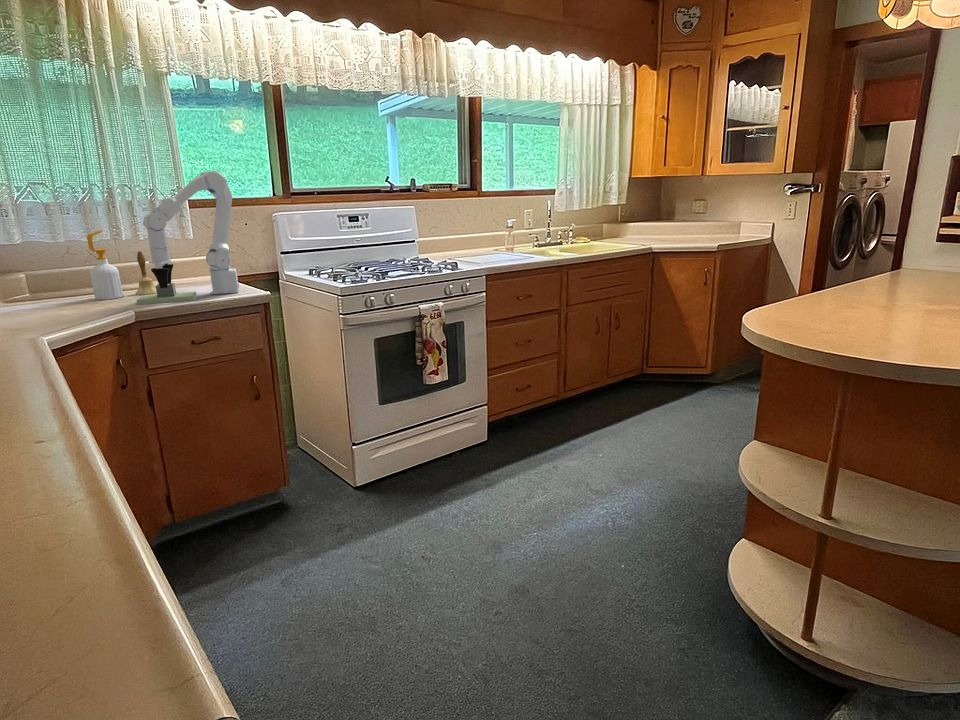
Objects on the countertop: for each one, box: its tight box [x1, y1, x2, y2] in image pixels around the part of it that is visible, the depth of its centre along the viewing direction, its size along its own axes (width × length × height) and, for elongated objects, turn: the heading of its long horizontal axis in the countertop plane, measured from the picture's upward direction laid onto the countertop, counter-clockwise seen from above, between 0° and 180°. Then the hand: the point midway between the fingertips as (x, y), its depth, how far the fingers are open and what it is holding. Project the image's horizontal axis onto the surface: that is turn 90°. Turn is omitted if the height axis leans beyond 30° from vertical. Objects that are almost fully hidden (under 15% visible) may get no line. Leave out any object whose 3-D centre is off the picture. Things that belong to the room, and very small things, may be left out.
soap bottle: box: [86, 229, 124, 301], centre depth 224 cm, size 9×9×25 cm
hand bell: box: [135, 251, 157, 296], centre depth 233 cm, size 8×8×16 cm
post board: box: [136, 284, 198, 305], centre depth 219 cm, size 18×10×6 cm, turn 108°
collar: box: [155, 282, 177, 298], centre depth 219 cm, size 5×5×4 cm
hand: (165, 286), depth 219 cm, fingers open, 7 cm apart
